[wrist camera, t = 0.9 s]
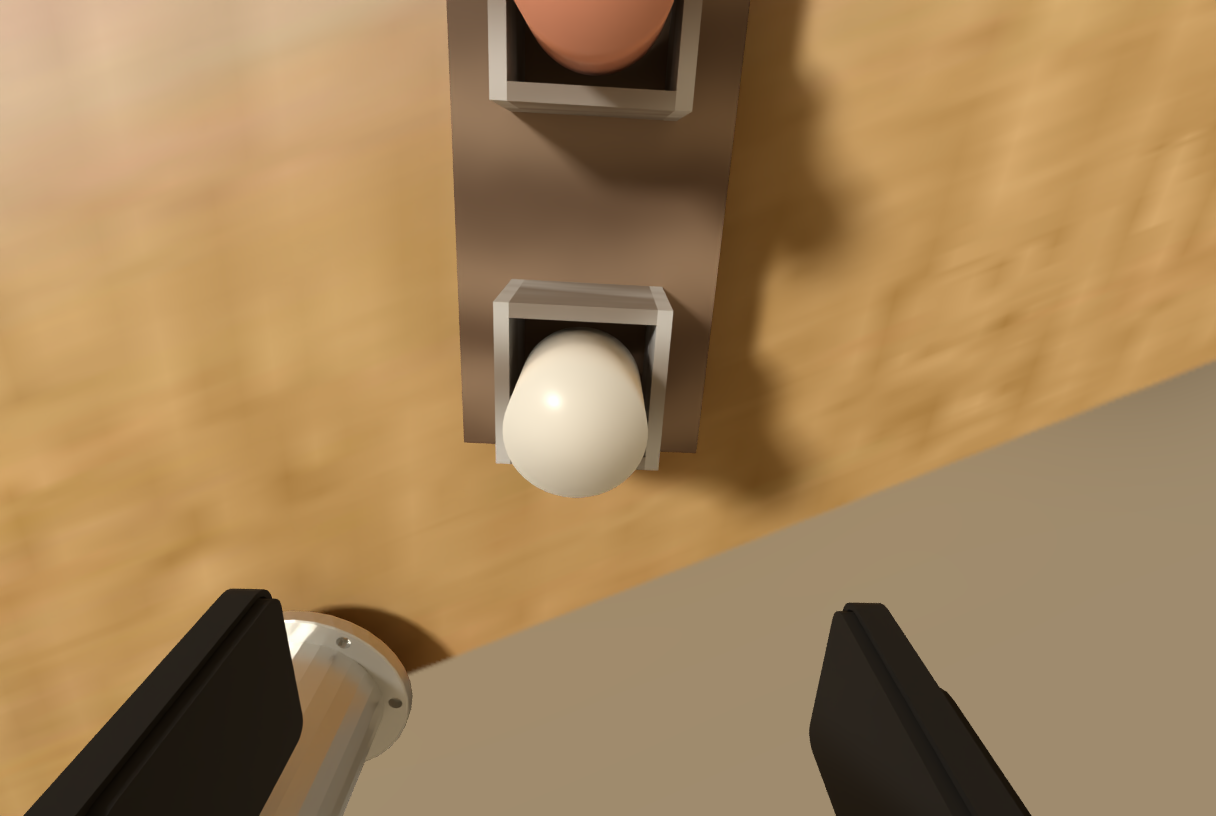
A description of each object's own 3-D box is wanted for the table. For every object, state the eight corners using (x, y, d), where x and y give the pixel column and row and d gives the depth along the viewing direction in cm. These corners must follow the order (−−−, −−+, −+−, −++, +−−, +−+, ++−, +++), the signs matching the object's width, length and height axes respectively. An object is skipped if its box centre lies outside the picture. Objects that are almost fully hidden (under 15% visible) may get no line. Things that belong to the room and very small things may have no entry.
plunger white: (636, 441, 26) (642, 500, 22) (521, 436, 26) (503, 494, 22) (644, 330, 25) (653, 368, 20) (521, 323, 24) (501, 361, 20)
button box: (686, 422, 35) (711, 503, 27) (479, 412, 35) (439, 491, 26) (742, -86, 26) (806, -204, 18) (464, -105, 26) (396, -233, 18)
